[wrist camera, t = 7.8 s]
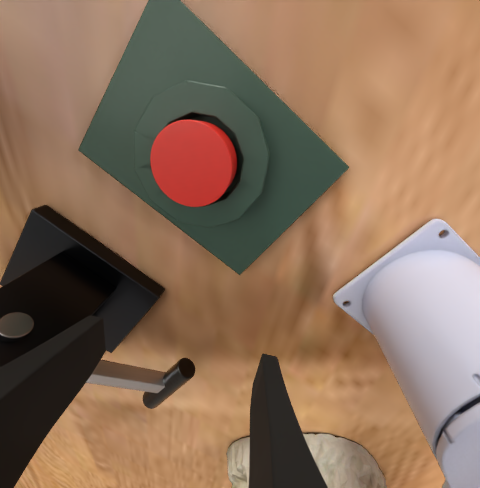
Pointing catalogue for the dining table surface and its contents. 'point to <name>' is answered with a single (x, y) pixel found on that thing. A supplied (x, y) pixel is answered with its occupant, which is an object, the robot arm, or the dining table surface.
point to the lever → (144, 379)
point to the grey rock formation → (318, 463)
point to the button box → (220, 114)
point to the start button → (193, 162)
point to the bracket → (67, 286)
